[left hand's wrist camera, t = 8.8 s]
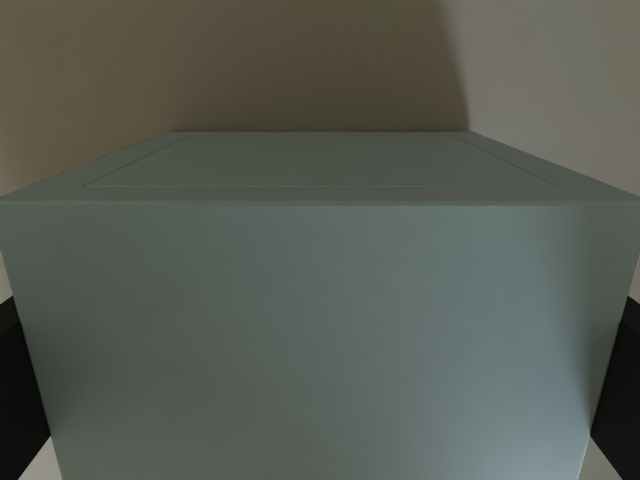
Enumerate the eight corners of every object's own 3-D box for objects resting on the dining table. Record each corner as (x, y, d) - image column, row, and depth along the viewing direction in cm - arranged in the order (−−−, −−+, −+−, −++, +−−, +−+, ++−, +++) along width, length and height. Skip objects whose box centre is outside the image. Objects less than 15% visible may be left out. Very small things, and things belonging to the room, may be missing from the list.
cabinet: (427, 519, 23) (494, 794, 14) (212, 519, 23) (145, 793, 14) (473, 131, 16) (656, 201, 7) (167, 131, 16) (-15, 201, 7)
